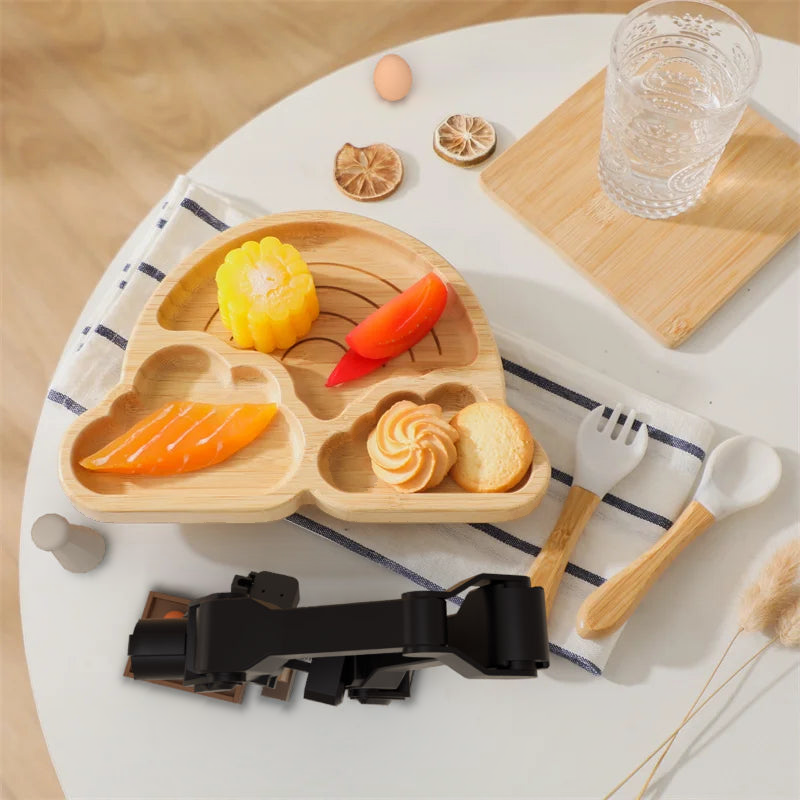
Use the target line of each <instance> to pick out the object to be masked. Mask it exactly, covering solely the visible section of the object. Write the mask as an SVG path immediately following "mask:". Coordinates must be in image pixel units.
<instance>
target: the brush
mask: <svg viewBox="0 0 800 800" xmlns="http://www.w3.org/2000/svg"><path fill="white" fill-rule="evenodd" d="M297 660H301V658H298V659H297ZM297 672H298V671H297V670H293V669H289V668H285V669H284V671H283V672H282V674H281V675H280V676H278V680H277V684H276V688H275V689H272V688H268V687H264V686H262V690H261V694H260V696H262V697H265V698H269V699H273V700H278V701H282V702H286V703H289V702H290V700H291V696H292V691H293V688H294V685H295V684H294V683H295V680H296V675H297Z"/></svg>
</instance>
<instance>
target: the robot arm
mask: <svg viewBox="0 0 800 800" xmlns="http://www.w3.org/2000/svg"><path fill="white" fill-rule="evenodd" d="M531 579H532V578H531V577H530V576H528V575H521V574H520V575H519V574H507V573H492V572H491V573H490V572H482V573H478V574H476V575H472V576H470V577H468V578H465V579H463V580H460V581H458V582H457V583H455V584H453V585H452V586H450V587H449V588H447V589H445V590H411V591H406V592H402V593H401V594H400V598H393V599H383V600H381V599H380V600H371V601H370V600H369V601H359V602H358V601H357V602H348V603H347V602H346V603H335V604H323V605H322V604H321V605H310V606H300V607H299V604H300V603H301V602H300V601H301V592H300V582H299V580H298V579H297V578H296V577H294V576H291V575H286V574H284V573H283V574H281V573H278V572H273V571H268V570H261V571H259V572H257V571H253V570H250V572H249V573H248V574H247V576H245V575H240V574H234V576H233V578H232V582H231V584H230V592H229V591H224V592H214V593H210V594H208V595H205V596H202V597H200V598H197V599H194V600H193V601H191V602H188V612H186V613H185V614H184V616H183V617H182V618H154V619H141V618H138V619H137V622H136V623H135V625H134V628H133V631H132V633H131V634H128V641H127V642H128V643H127V655H126V656H128V657H129V656H131V667H132V672H133V675H134V678H133V680H134V681H142V680H173V679H184V681H183V687H194V693H193V694H196V693H209V692H218V691H228V690H233V689H234V688H235V687H236V686H241V685H242V683H246V682H247V684H251V685H256V686H261V687H263V686H264V687H268V688H272V689H275V688H276V684H277V680H278V676H280V675H281V674H282V672H283V671H284V669H285V668H289V669H293V670H297V672H302V673H307V678H306V681H305V685H304V689H303V697H302V699H304V700H307V701H311V702H315V703H318V704H324V705H328V706H332V707H338V706H339V705H341V704H343V702H344V699H345V695H347V698H348V699H349V700H352V701H357V702H358V703H359V704H360V705H370V706H371V705H374V706H384V707H385V706H387V707H388V706H389V705H390V704H391V703H392V702H394V701H406V699H409V698H411V688H412V683H413V679H414V675H415V674H414V673H415V671H417V670H423V669H428V668H435V667H441V666H446V667H448V668H450V669H451V670H452V671H454V672H455V673H457V674H458V675H459V676H461V677H462V678H465V679H467V680H501V681H502V680H505V681H507V680H512V681H513V680H514V681H515V680H531V679H538V678H539V677H538V675H539V674H538V671H542V670H547V669H548V670H549V668H550V666H551V655H550V641H549V631H548V630H549V629H548V618H547V617H548V616H547V606H546V591H545V588H544V587H543V586H542V585H536V586H532V580H531ZM471 587H475V588H474V589H472V590H469V591H468V592H467V593H466V595H465V597H464V599H463V601H462V603H461V605H460V606H459V608H458V610H457V612H454V613H451V614H448V606H447V605H448V604H447V603H448V602H447V600H449V599H452V598H454V597H456V596H457V595H459V594H461V593H463V592H465V591H466V590H467V589H469V588H471ZM298 658H300V660H297V659H298ZM301 659H302V660H301ZM304 659H305V660H308V661H305V660H304ZM309 661H310V662H309ZM346 691H347V694H346Z"/></svg>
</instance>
